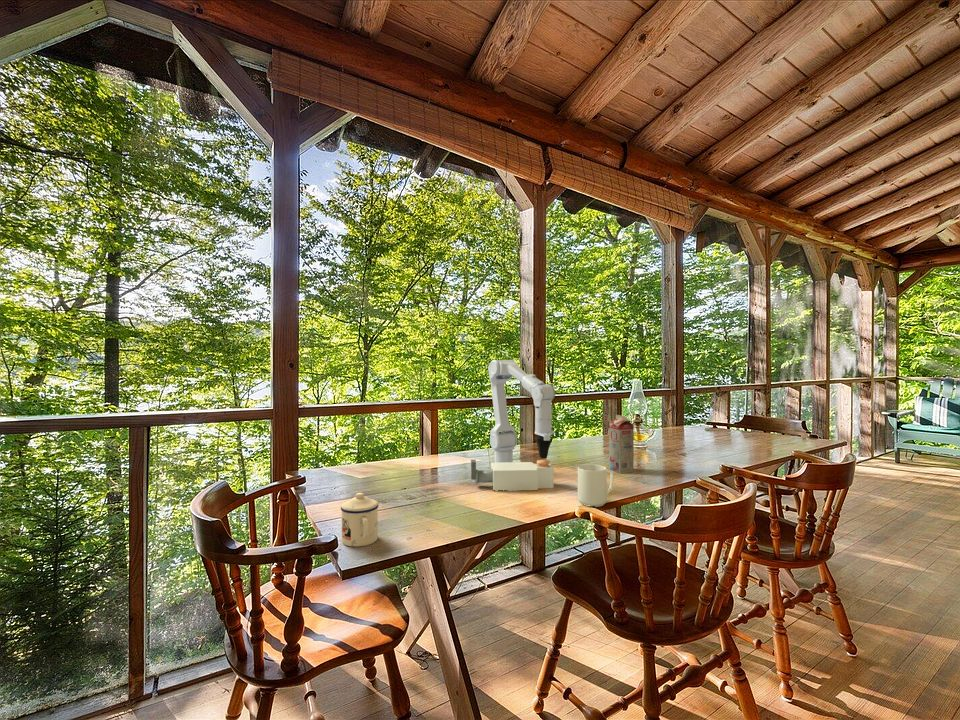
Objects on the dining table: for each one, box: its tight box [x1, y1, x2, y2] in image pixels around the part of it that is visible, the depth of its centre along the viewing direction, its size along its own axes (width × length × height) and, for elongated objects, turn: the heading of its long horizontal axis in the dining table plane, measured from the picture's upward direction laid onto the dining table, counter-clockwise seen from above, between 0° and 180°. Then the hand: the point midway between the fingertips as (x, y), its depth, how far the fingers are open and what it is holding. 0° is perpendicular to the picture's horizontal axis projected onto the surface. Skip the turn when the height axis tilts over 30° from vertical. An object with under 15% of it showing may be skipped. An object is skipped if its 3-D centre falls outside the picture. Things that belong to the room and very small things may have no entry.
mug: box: [577, 463, 615, 508], centre depth 148 cm, size 12×9×11 cm
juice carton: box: [608, 414, 635, 474], centre depth 189 cm, size 7×7×22 cm
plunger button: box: [536, 459, 551, 467], centre depth 168 cm, size 5×5×4 cm
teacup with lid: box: [340, 492, 380, 548], centre depth 117 cm, size 12×9×12 cm
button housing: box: [490, 461, 555, 492], centre depth 167 cm, size 12×21×7 cm, turn 93°
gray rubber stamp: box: [470, 459, 493, 485], centre depth 167 cm, size 5×12×8 cm, turn 93°
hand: (543, 457), depth 167 cm, fingers closed
